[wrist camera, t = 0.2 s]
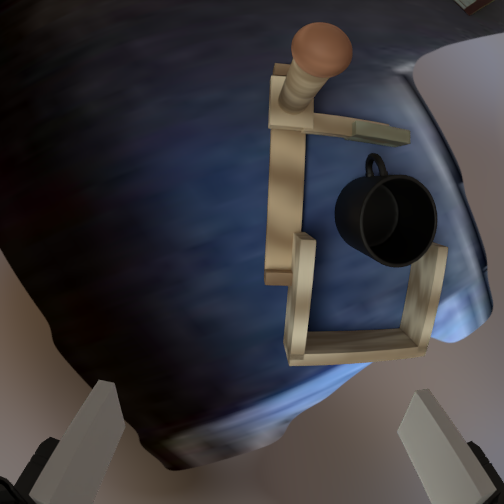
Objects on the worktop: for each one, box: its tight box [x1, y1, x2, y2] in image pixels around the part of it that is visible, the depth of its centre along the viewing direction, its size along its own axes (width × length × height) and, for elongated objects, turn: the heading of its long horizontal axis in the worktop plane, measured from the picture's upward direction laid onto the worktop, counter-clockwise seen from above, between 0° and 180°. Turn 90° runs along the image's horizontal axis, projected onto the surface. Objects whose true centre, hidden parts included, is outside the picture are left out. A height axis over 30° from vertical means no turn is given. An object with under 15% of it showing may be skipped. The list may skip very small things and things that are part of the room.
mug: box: [335, 153, 437, 267], centre depth 32 cm, size 9×12×9 cm
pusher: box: [268, 22, 410, 147], centre depth 25 cm, size 6×16×19 cm, turn 88°
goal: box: [284, 232, 448, 366], centre depth 36 cm, size 15×19×6 cm
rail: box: [264, 63, 306, 286], centre depth 34 cm, size 26×4×2 cm, turn 178°
